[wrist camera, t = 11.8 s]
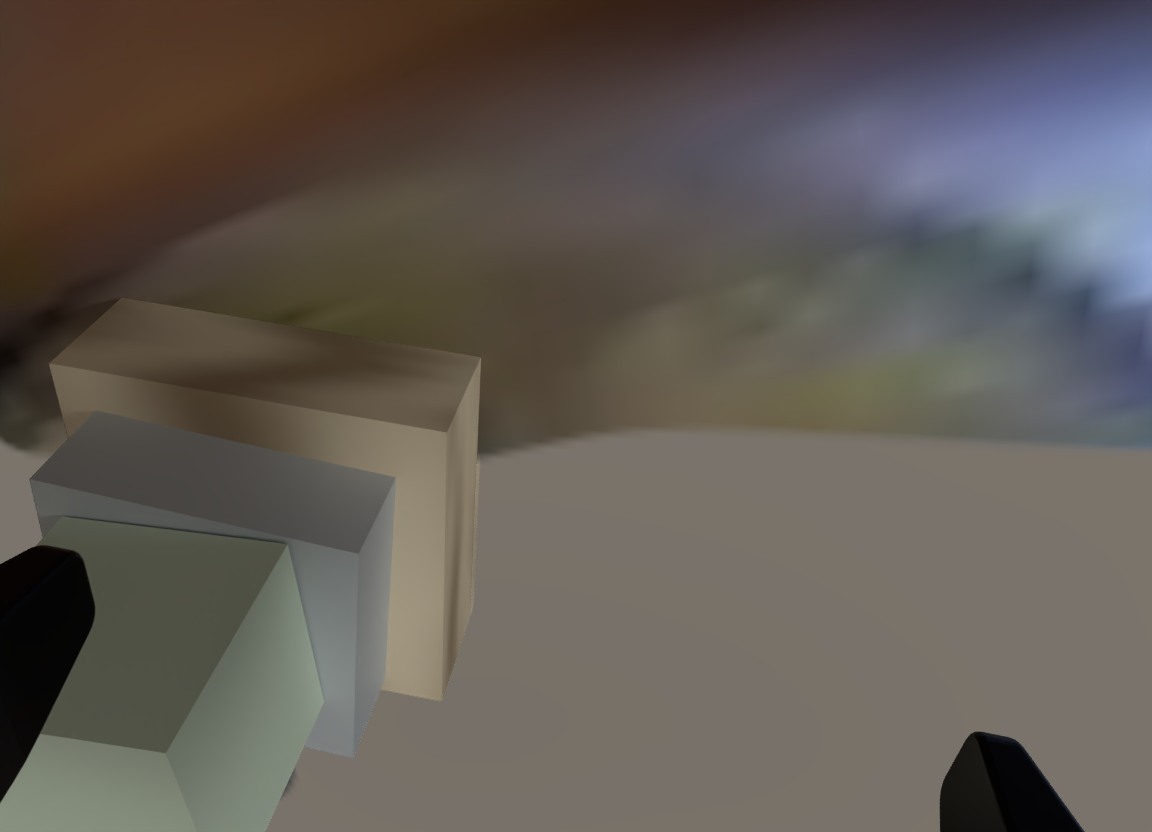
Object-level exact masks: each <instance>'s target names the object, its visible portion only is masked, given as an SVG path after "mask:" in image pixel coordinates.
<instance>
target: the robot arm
mask: <svg viewBox="0 0 1152 832" xmlns="http://www.w3.org/2000/svg"><path fill="white" fill-rule="evenodd" d="M94 619H95V601H94V597H93V594H92V590H91V586H90V582H89V578H88V574H87V570H86V566H85V562H84V560H83V557H82V556H81V555H80V554H79V553H78V552H76V551H74V550H69V549H64V548H59V547H54V546H49V545H39V546H35V547H32V548H30V549H28V550H26V551H24V552H22V553H21V554H19V555H17V556H15V557H13V558H12V559H9V560H7V561H5V562H4V563H2V564H0V803H1V801H2V800H3V798H4V797H5V795H6V793H7V792H8V790H9V789H10V787H11V785H12V784H13V782H14V780H15V779H16V777H17V775H18V774H19V772H20V770H21V769H22V767H23V765H24V764H25V762H26V760H27V758H28V756H29V754H30V752H31V751H32V749H33V747H34V745H35V743H36V741H37V739H38V737H39V735H40V733H41V731H42V729H43V727H44V725H45V723H46V721H47V719H48V717H49V715H50V713H51V711H52V709H53V706H54V704H55V702H56V700H57V698H58V696H59V694H60V692H61V690H62V688H63V686H64V684H65V682H66V680H67V678H68V676H69V674H70V672H71V670H72V668H73V666H74V664H75V662H76V659H77V657H78V655H79V653H80V651H81V649H82V647H83V645H84V643H85V641H86V639H87V637H88V635H89V633H90V631H91V628H92V626H93V623H94ZM940 832H1084V830H1083V829H1082V827H1081V826H1080V825H1079V823H1078V822H1077V821H1076V819H1075V818H1074V816H1073V815H1072V814H1071V812H1070V811H1069V809H1068V808H1067V807H1066V805H1065V804H1064V803H1063V801H1062V800H1061V798H1060V797H1059V796H1058V794H1057V793H1056V792H1055V790H1054V789H1053V787H1052V786H1051V785H1050V783H1049V782H1048V780H1047V779H1046V778H1045V776H1044V775H1043V774H1042V772H1041V771H1040V770H1039V768H1038V767H1037V765H1036V764H1035V762H1034V761H1033V760H1032V758H1031V757H1030V756H1029V754H1028V753H1027V752H1026V750H1025V749H1024V747H1023V746H1022V745H1021V744H1019V742H1017V741H1016V740H1014V739H1012V738H1009V737H1005V736H1000V735H995V734H990V733H985V732H974V733H972V734H970V735H969V736H968V738H967V739H966V740H965V742H964V744H963V746H962V748H961V749H960V751H959V753H958V755H957V757H956V758H955V760H954V762H953V764H952V766H951V767H950V769H949V771H948V773H947V775H946V776H945V779H944V781H943V784H942V788H941V795H940Z"/></svg>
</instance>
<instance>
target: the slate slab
mask: <svg viewBox="0 0 1152 832" xmlns="http://www.w3.org/2000/svg"><path fill="white" fill-rule="evenodd" d="M30 484H31V488H32V493H33V497H34V501H35V506H36V510H37V514H38V519H39V523H40V527H41V531H42V536H43V538H44V536H45V535H46V534H47V533H48V532H49V531H50V530H51V528H52V527H53V526H54V525H55V524H56V523H57V522H58V520H59V519H60V518H61V517H70V518H78V519H87V520H95V521H103V522H111V523H119V524H127V525H136V526H144V527H152V528H160V529H168V530H176V531H185V532H193V533H201V534H209V535H217V536H225V537H234V538H242V539H250V540H258V541H266V542H274V543H282V544H288V547H289V552H290V556H291V560H292V565H293V569H294V573H295V578H296V582H297V586H298V591H299V595H300V599H301V604H302V608H303V612H304V617H305V621H306V625H307V630H308V634H309V638H310V643H311V647H312V651H313V656H314V660H315V664H316V669H317V673H318V677H319V682H320V686H321V690H322V695H323V699H324V704H323V706H322V708H321V710H320V712H319V715H318V717H317V719H316V721H315V723H314V726H313V728H312V730H311V732H310V734H309V737H308V739H307V741H306V743H305V745H304V747H307V748H312V749H316V750H320V751H324V752H329V753H333V754H337V755H342V756H345V757H350V758H353V757H354V755H355V752H356V749H357V747H358V745H359V742H360V740H361V737H362V735H363V732H364V730H365V727H366V725H367V722H368V720H369V717H370V715H371V712H372V710H373V707H374V705H375V702H376V700H377V697H378V695H379V692H380V690H381V687H382V685H383V682H384V680H385V673H386V655H387V637H388V618H389V600H390V582H391V564H392V545H393V527H394V509H395V491H396V477H392V476H388V475H383V474H379V473H374V472H370V471H365V470H361V469H356V468H352V467H347V466H343V465H338V464H334V463H329V462H325V461H320V460H316V459H311V458H307V457H302V456H298V455H293V454H289V453H285V452H280V451H276V450H271V449H267V448H262V447H258V446H253V445H249V444H244V443H240V442H235V441H231V440H226V439H222V438H217V437H213V436H208V435H204V434H199V433H195V432H190V431H186V430H181V429H177V428H172V427H168V426H164V425H159V424H155V423H150V422H146V421H141V420H137V419H132V418H128V417H123V416H119V415H114V414H110V413H105V412H101V411H95V412H94V413H93V414H92V415H91V416H90V417H89V418H88V419H87V420H86V421H85V422H84V423H83V424H82V425H81V426H80V427H79V428H78V429H77V430H76V431H75V432H74V434H73V435H72V436H71V437H70V438H69V439H68V440H67V441H66V442H65V443H64V444H63V445H62V446H61V447H60V448H59V449H58V450H57V451H56V452H55V453H54V454H53V455H52V456H51V457H50V458H49V459H48V460H47V461H46V462H45V464H44V465H43V466H42V467H41V468H40V469H39V470H38V471H37V472H36V473H35V474H34V475H33V476H32V477H31V478H30Z"/></svg>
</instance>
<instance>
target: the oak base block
mask: <svg viewBox="0 0 1152 832" xmlns="http://www.w3.org/2000/svg"><path fill="white" fill-rule="evenodd" d="M49 366H50V370H51V374H52V378H53V382H54V386H55V389H56V393H57V397H58V401H59V405H60V409H61V412H62V416H63V420H64V424H65V428H66V432H67V435H68V439H69V438H70V437H71V436H72V435H73V434H74V432H75V431H76V430H77V429H78V428H79V427H80V426H81V425H82V424H83V423H84V422H85V421H86V420H87V419H88V418H89V417H90V416H91V415H92V414H93V413H94V412H95V411H101V412H105V413H110V414H114V415H119V416H123V417H128V418H132V419H137V420H141V421H146V422H150V423H155V424H159V425H164V426H168V427H172V428H177V429H181V430H186V431H190V432H195V433H199V434H204V435H208V436H213V437H217V438H222V439H226V440H231V441H235V442H240V443H244V444H249V445H253V446H258V447H262V448H267V449H271V450H276V451H280V452H285V453H289V454H293V455H298V456H302V457H307V458H311V459H316V460H320V461H325V462H329V463H334V464H338V465H343V466H347V467H352V468H356V469H361V470H365V471H370V472H374V473H379V474H383V475H388V476H392V477H396V491H395V509H394V527H393V545H392V564H391V582H390V600H389V618H388V637H387V655H386V673H385V680H384V682H383V685H382V687H381V690H385V691H390V692H396V693H401V694H406V695H411V696H416V697H421V698H427V699H432V700H437V701H442V699H443V696H444V693H445V690H446V687H447V684H448V681H449V678H450V675H451V672H452V669H453V666H454V663H455V660H456V657H457V654H458V651H459V648H460V645H461V642H462V639H463V636H464V633H465V631H466V627H467V625H468V621H469V619H470V616H471V613H472V610H473V607H474V587H475V586H474V585H475V565H476V542H477V519H478V497H479V476H480V459H479V460H477V440H478V416H479V391H480V367H481V357H475V356H469V355H463V354H457V353H451V352H445V351H439V350H433V349H427V348H421V347H415V346H409V345H403V344H397V343H391V342H385V341H379V340H373V339H367V338H361V337H355V336H349V335H343V334H337V333H331V332H325V331H319V330H313V329H307V328H301V327H295V326H289V325H283V324H277V323H271V322H265V321H259V320H253V319H247V318H241V317H235V316H229V315H223V314H217V313H211V312H205V311H199V310H193V309H187V308H181V307H175V306H169V305H163V304H157V303H151V302H145V301H139V300H133V299H127V298H121V299H120V300H118V301H117V302H116V303H115V304H114V305H113V306H112V307H111V308H110V309H108V310H107V311H106V312H105V313H104V314H103V315H102V316H101V317H100V318H99V319H97V320H96V321H95V322H94V323H93V324H92V325H91V326H90V327H89V328H87V329H86V330H85V331H84V332H83V333H82V334H81V335H80V336H79V337H77V338H76V339H75V340H74V341H73V342H72V343H71V344H70V345H69V346H68V347H66V348H65V349H64V350H63V351H62V352H61V353H60V354H59V355H58V356H56V357H55V358H54V359H53V360H52V361H51V362H50V363H49Z"/></svg>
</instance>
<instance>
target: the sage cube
mask: <svg viewBox="0 0 1152 832" xmlns="http://www.w3.org/2000/svg"><path fill="white" fill-rule="evenodd" d="M39 545H49V546H54V547H59V548H64V549H69V550H74V551H76V552H78V553H79V554H80V555H81V556H82V557H83V560H84V562H85V566H86V570H87V574H88V578H89V582H90V586H91V590H92V594H93V597H94V601H95V619H94V623H93V626H92V628H91V631H90V633H89V635H88V637H87V639H86V641H85V643H84V645H83V647H82V649H81V651H80V653H79V655H78V657H77V659H76V662H75V664H74V666H73V668H72V670H71V672H70V674H69V676H68V678H67V680H66V682H65V684H64V686H63V688H62V690H61V692H60V694H59V696H58V698H57V700H56V702H55V704H54V706H53V709H52V711H51V713H50V715H49V717H48V719H47V721H46V723H45V725H44V727H43V729H42V731H41V733H40V735H39V737H38V739H37V741H36V743H35V745H34V747H33V749H32V751H31V752H30V754H29V756H28V758H27V760H26V762H25V764H24V765H23V767H22V769H21V770H20V772H19V774H18V775H17V777H16V779H15V780H14V782H13V784H12V785H11V787H10V789H9V790H8V792H7V793H6V795H5V797H4V798H3V800H2V801H1V803H0V832H265V831H266V829H267V826H268V824H269V822H270V820H271V817H272V815H273V813H274V811H275V809H276V807H277V805H278V802H279V800H280V798H281V796H282V794H283V791H284V789H285V787H286V785H287V783H288V780H289V778H290V776H291V774H292V772H293V769H294V767H295V765H296V763H297V761H298V758H299V756H300V754H301V752H302V750H303V747H304V745H305V743H306V741H307V739H308V737H309V734H310V732H311V730H312V728H313V726H314V723H315V721H316V719H317V717H318V715H319V712H320V710H321V708H322V706H323V704H324V699H323V695H322V690H321V686H320V682H319V677H318V673H317V669H316V664H315V660H314V656H313V651H312V647H311V643H310V638H309V634H308V630H307V625H306V621H305V617H304V612H303V608H302V604H301V599H300V595H299V591H298V586H297V582H296V578H295V573H294V569H293V565H292V560H291V556H290V552H289V547H288V544H282V543H274V542H266V541H258V540H250V539H242V538H234V537H225V536H217V535H209V534H201V533H193V532H185V531H176V530H168V529H160V528H152V527H144V526H136V525H127V524H119V523H111V522H103V521H95V520H87V519H78V518H70V517H61V518H60V519H59V520H58V522H57V523H56V524H55V525H54V526H53V527H52V528H51V530H50V531H49V532H48V533H47V534H46V535H45V536H44V538H43V539H42V540H41V541H40V542H39V543H38V545H37V546H39Z"/></svg>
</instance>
